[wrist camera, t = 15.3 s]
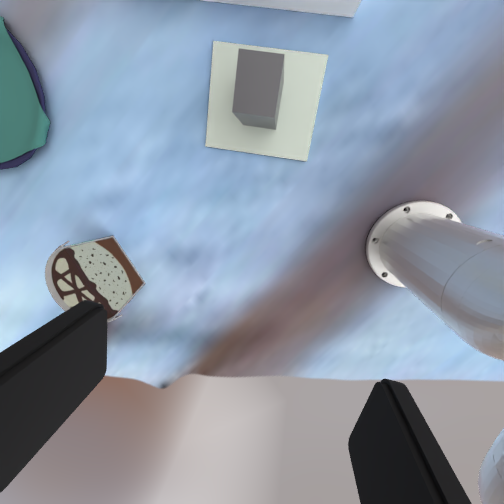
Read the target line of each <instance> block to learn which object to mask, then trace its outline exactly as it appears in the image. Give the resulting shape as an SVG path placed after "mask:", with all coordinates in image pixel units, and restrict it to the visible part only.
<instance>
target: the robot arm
mask: <svg viewBox="0 0 504 504" xmlns="http://www.w3.org/2000/svg"><path fill="white" fill-rule="evenodd" d="M404 208H405V210H404V211H403V209H404ZM446 215H447V216H446ZM373 238H375V240H373V241H372V239H373ZM366 256H367V260H368V263H369V265H370V267H371V269H372V270H373V271H374V272H375V274H376V275H377V276H378V277H379V278H381V279H382V280H383V281H385V282H387V283H389V284H391V285H394V286H398V287H403V288H407V289H408V290H409V291H411V292H412V293H413V294H414V295H415V296H416V297H417V298H418V299H419V300H420V301H421V302H422V303H423V304H424V305H425V306H427V307H428V308H429V309H430V310H431V311H432V312H433V313H434V314H435V315H436V316H437V317H438V318H439V319H440V320H441V321H443V322H444V323H445V324H446V325H447V326H448V327H449V328H450V329H451V330H452V331H454V332H455V333H456V334H457V335H458V336H459V337H460V338H461V339H462V340H463V341H465V342H466V343H467V344H469V345H470V346H471V347H473V348H474V349H476V350H478V351H480V352H481V353H484V354H486V355H488V356H490V357H493V358H496V359H499V360H503V361H504V235H500V234H497V233H493V232H490V231H486V230H483V229H480V228H476V227H473V226H469V225H466V224H463V223H462V222H461V220H460V219H459V217H458V216H457V215H456V213H454V212H453V211H452V210H451V209H449V208H448V207H446V206H444V205H442V204H439V203H435V202H430V201H411V202H407V203H403V204H401V205H398V206H396V207H394V208H392V209H391V210H389V211H387V212H386V213H385V214H384V215H382V216H381V217H380V218H379V219H378V221H377V222H376V223H375V224H374V226H373V227H372V229H371V231H370V233H369V236H368V238H367V243H366ZM383 272H384V273H383ZM382 273H383V274H382ZM106 367H107V310H105V309H104V306H103V304H100V303H96V302H93V301H89V300H83V301H81V302H80V303H78V304H76V305H75V306H73V307H72V308H70V309H69V310H67V311H65V312H64V313H62V314H61V315H59V316H57V317H56V318H54V319H53V320H51V321H50V322H48V323H46V324H45V325H43V326H42V327H40V328H39V329H37V330H35V331H34V332H32V333H31V334H29V335H27V336H26V337H24V338H23V339H21V340H20V341H18V342H16V343H15V344H13V345H12V346H10V347H8V348H7V349H5V350H4V351H2V352H1V353H0V492H2V491H3V490H4V489H5V488H6V487H7V486H8V485H9V483H10V482H11V481H12V480H13V479H14V478H15V477H16V476H17V474H18V473H19V472H20V471H21V470H22V469H23V468H24V467H25V466H26V464H27V463H28V462H29V461H30V460H31V459H32V458H33V457H34V455H35V454H36V453H37V452H38V451H39V450H40V449H41V448H42V446H43V445H44V444H45V443H46V442H47V441H48V439H49V438H50V437H51V436H52V435H53V434H54V433H55V432H56V431H57V430H58V428H59V427H60V426H61V425H62V424H63V423H64V422H65V420H66V419H67V418H68V417H69V416H70V415H71V414H72V412H74V410H75V409H76V408H77V407H78V406H79V405H80V404H81V402H82V401H83V400H84V399H85V398H86V397H87V396H88V395H89V393H90V392H91V391H92V390H93V389H94V388H95V387H96V386H97V384H98V383H99V382H100V381H101V380H102V379H103V377H104V375H105V373H106ZM348 446H349V453H350V458H351V462H352V467H353V471H354V476H355V480H356V485H357V489H358V494H359V498H360V502H361V504H471V502H470V500H469V498H468V496H467V495H466V493H465V491H464V489H463V487H462V486H461V484H460V482H459V481H458V479H457V477H456V475H455V473H454V471H453V470H452V468H451V466H450V464H449V462H448V460H447V459H446V457H445V455H444V453H443V451H442V450H441V448H440V446H439V444H438V443H437V441H436V439H435V437H434V435H433V434H432V432H431V430H430V428H429V426H428V425H427V423H426V421H425V419H424V417H423V415H422V414H421V412H420V410H419V408H418V407H417V405H416V403H415V401H414V399H413V398H412V396H411V394H410V392H409V390H408V389H407V387H406V386H405V385H404V384H403V383H400V382H396V381H392V380H388V379H383V380H382V381H381V382H377V383H376V384H375V385H374V388H373V390H372V392H371V394H370V396H369V398H368V400H367V402H366V404H365V406H364V408H363V410H362V412H361V414H360V417H359V419H358V421H357V423H356V425H355V427H354V429H353V431H352V433H351V435H350V438H349V443H348ZM478 485H479V495H480V499H481V502H482V504H504V428H503V430H502V431H501V432H500V434H499V435H498V437H497V438H496V440H495V441H494V443H493V444H492V446H491V448H490V449H489V451H488V452H487V454H486V456H485V458H484V460H483V462H482V464H481V467H480V472H479V478H478Z"/></svg>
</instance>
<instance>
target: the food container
mask: <svg viewBox="0 0 504 504" xmlns="http://www.w3.org/2000/svg"><path fill="white" fill-rule="evenodd" d="M68 242H69V241H67V242H65V243H64V244H62V245H61V246H59V247H58V248H57V249H56V250H55V251H54V252H53V253H52V255H51V256H50V257H49V259H48V261H47V264H46V268H45V279H46V284H47V287H48V289H49V292H50V294H51V295H52V297H53V299H54V300H55V301H56V303H57V304H58V305H59V306H60V307H61V308H62V309H63V310H64V311H67V310H69V309H70V308H72V307H73V306H75V305H76V304H78V303H80V302H81V301H83V300H89V301H93V302H96V303H100V304H103V306H104V309H105V310H107V322H110V321H113V320H116V319H118V318H119V317H121V316H123V315H120V316H117V315H118V314H119V313H120V311H121V310H122V309H123V308H124V307H125V306H126V305H127V304H128V302H129V301H130V300H131V299H132V298H133V297H134V296H135V294H136V293H137V292H138V291H139V290H140V289H141V288H142V287H143V285H144V284H145V282H144V280H143V279H142V277H141V276H140V274H139V273H138V271H137V270H136V268H135V267H134V265H133V264H132V262H131V261H130V259H129V258H128V256H127V255H126V253H125V252H124V250H123V249H122V247H121V246H120V244H119V243H118V242H117V240H116V239H115V237H114V236H109V237H105V238H100V239H96V240H91V241H87V242H82V243H78V244H73V245H69V246H65V247H64V245H65V244H67V243H68ZM116 316H117V317H116Z"/></svg>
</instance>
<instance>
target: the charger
mask: <svg viewBox="0 0 504 504" xmlns="http://www.w3.org/2000/svg"><path fill="white" fill-rule="evenodd" d="M284 58H285V54H280V53H272V52H264V51H256V50H248V49H240V48H239V51H238V60H237V70H236V79H235V89H234V98H233V108H232V112H233V113H234V115H235V116H236V117H237V118H238V119H239V121H240V122H241V123H242V124H243V125H246V126H253V127H260V128H267V129H274V130H276V127H277V121H278V115H279V109H280V102H281V96H282V90H283V84H284Z"/></svg>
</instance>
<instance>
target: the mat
mask: <svg viewBox="0 0 504 504" xmlns="http://www.w3.org/2000/svg"><path fill="white" fill-rule="evenodd" d="M239 48H240V49H248V50H256V51H264V52H272V53H280V54H285V58H284V84H283V90H282V96H281V102H280V109H279V115H278V121H277V127H276V130H274V129H267V128H260V127H253V126H246V125H243V124H242V123H241V122H240V121H239V119H238V118H237V117H236V116H235V115H234V113H233V112H232V108H233V98H234V89H235V79H236V70H237V60H238V51H239ZM327 59H328V55H325V54H316V53H308V52H300V51H292V50H284V49H276V48H267V47H259V46H251V45H243V44H235V43H227V42H218V41H213V53H212V66H211V79H210V92H209V106H208V119H207V132H206V145H205V146H206V147H213V148H220V149H226V150H233V151H240V152H247V153H253V154H260V155H267V156H274V157H280V158H287V159H294V160H301V161H307V158H308V153H309V148H310V143H311V138H312V133H313V128H314V123H315V118H316V113H317V108H318V103H319V98H320V93H321V89H322V84H323V79H324V74H325V69H326V64H327Z"/></svg>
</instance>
